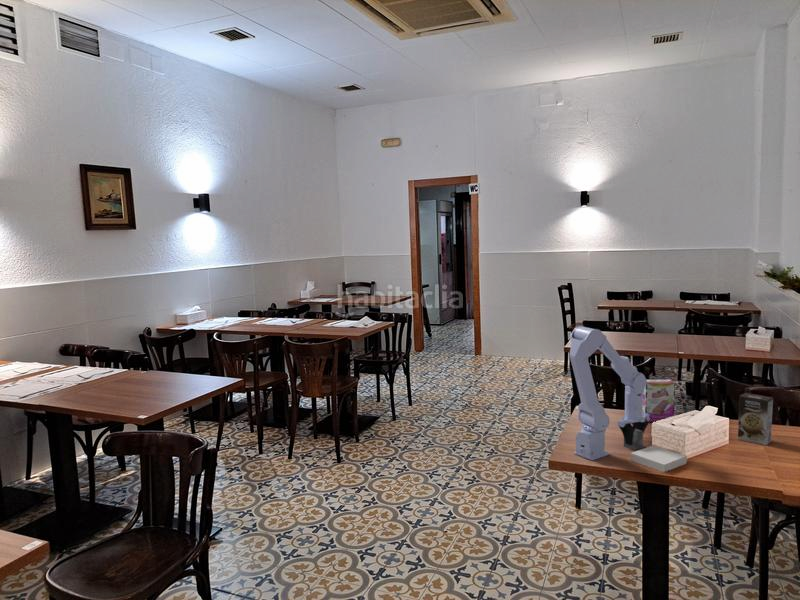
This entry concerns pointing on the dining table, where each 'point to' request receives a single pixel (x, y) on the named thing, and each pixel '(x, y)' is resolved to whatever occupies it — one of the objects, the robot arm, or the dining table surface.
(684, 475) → the dining table surface
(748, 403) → the coffee box
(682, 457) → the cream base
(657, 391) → the candy bar box
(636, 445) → the grey block
